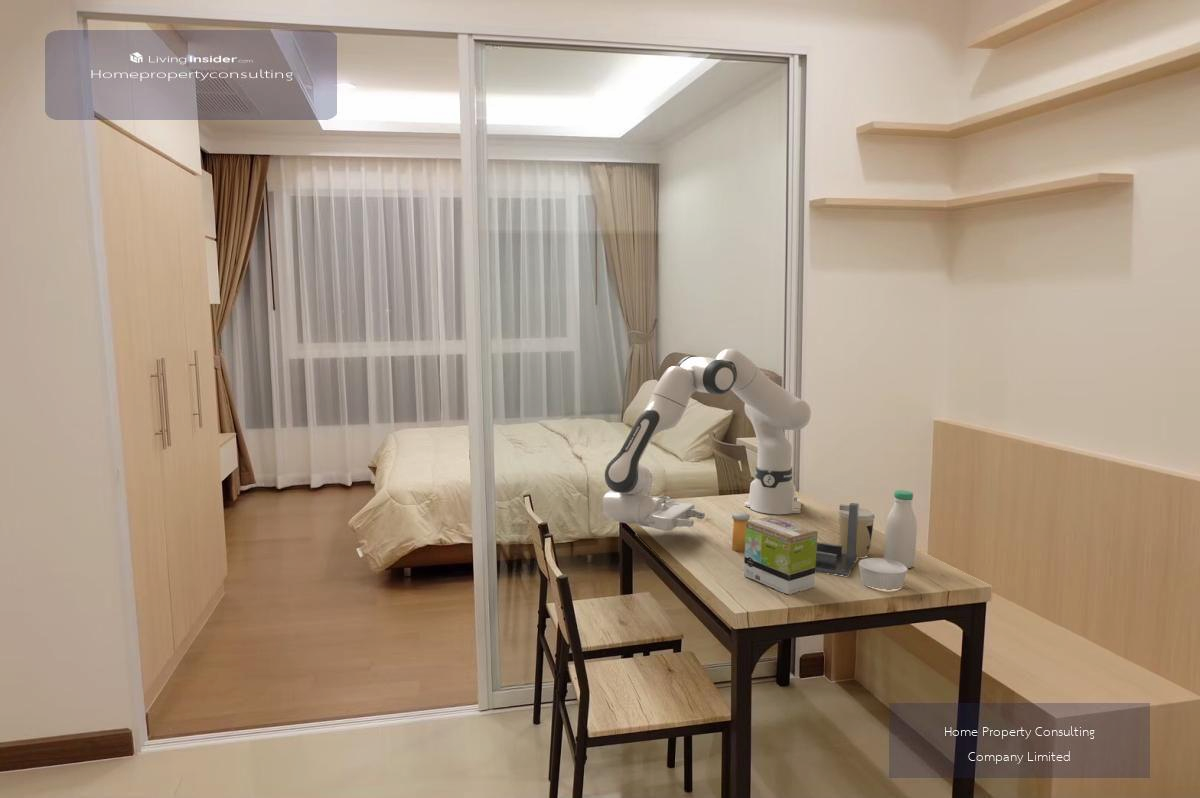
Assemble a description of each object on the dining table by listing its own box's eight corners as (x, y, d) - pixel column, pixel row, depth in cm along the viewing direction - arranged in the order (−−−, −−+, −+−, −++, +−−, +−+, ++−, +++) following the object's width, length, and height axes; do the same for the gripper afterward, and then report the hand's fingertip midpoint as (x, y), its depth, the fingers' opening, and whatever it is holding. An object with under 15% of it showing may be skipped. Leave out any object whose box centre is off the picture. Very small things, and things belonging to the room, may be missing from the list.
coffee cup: (874, 560, 209) (877, 517, 208) (838, 557, 211) (841, 514, 210) (869, 549, 219) (871, 508, 217) (834, 547, 220) (837, 506, 219)
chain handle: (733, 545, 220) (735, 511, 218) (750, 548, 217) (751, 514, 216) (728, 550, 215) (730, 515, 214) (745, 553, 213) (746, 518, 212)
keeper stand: (815, 553, 214) (819, 492, 212) (858, 560, 209) (862, 498, 207) (803, 569, 201) (807, 505, 199) (849, 577, 196) (853, 511, 194)
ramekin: (915, 588, 189) (917, 567, 189) (886, 597, 183) (888, 576, 183) (877, 574, 199) (878, 554, 198) (848, 582, 193) (849, 562, 192)
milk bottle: (916, 571, 201) (922, 496, 199) (885, 568, 203) (890, 494, 200) (911, 561, 209) (916, 489, 206) (881, 559, 210) (885, 487, 208)
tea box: (742, 577, 195) (744, 520, 193) (769, 569, 200) (772, 514, 199) (788, 596, 183) (791, 535, 181) (815, 587, 188) (819, 529, 186)
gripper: (639, 509, 217) (686, 517, 211) (667, 495, 235) (710, 501, 229) (639, 531, 218) (685, 539, 212) (666, 515, 236) (709, 522, 230)
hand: (698, 519), depth 221 cm, fingers open, 8 cm apart
